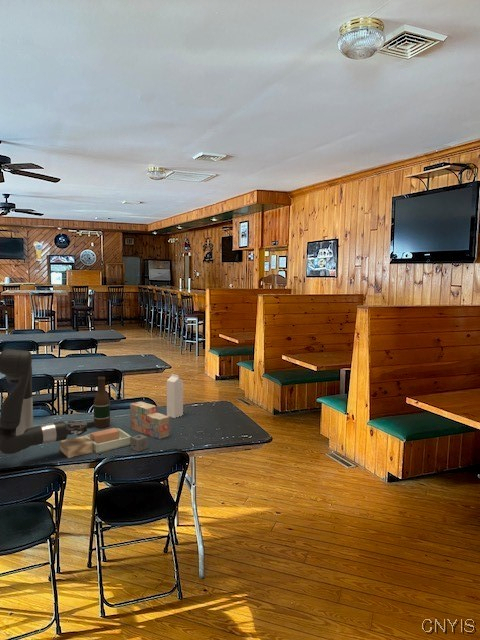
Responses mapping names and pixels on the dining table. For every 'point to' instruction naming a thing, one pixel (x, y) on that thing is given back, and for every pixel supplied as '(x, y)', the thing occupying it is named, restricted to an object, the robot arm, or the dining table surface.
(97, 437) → the terracotta block
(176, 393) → the milk
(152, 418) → the stack of blocks
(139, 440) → the dice cube
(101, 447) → the tray
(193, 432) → the dining table surface
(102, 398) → the beer bottle
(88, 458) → the dining table surface
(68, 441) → the cream wooden slab
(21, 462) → the dining table surface
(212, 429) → the dining table surface
